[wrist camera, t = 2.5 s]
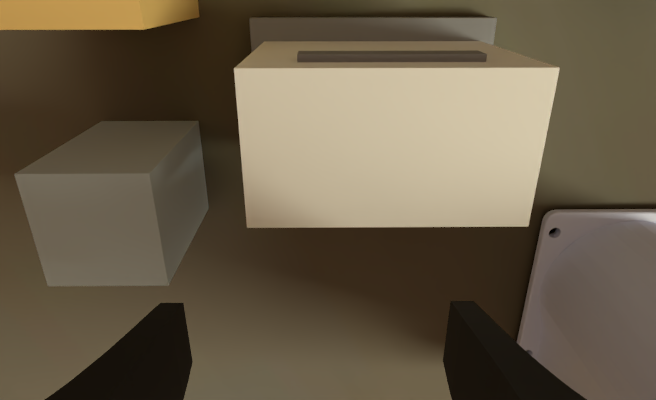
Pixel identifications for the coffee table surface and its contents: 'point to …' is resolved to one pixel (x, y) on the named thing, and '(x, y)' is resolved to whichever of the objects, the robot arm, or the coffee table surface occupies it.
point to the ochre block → (94, 14)
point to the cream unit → (389, 123)
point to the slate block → (117, 203)
